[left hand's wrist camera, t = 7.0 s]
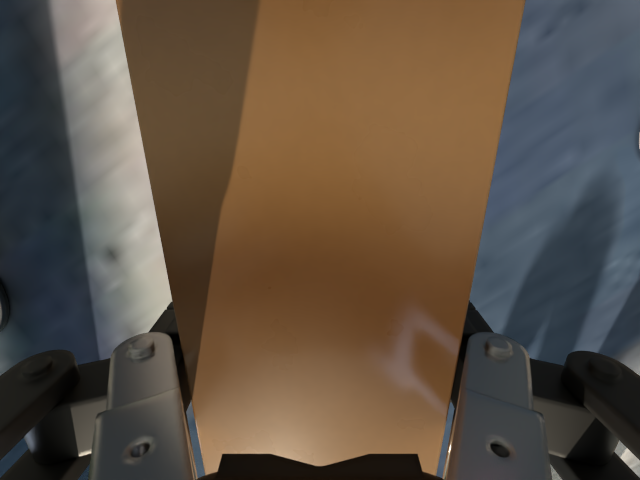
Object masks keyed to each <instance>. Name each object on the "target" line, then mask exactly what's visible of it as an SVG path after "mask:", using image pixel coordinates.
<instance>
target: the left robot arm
mask: <svg viewBox="0 0 640 480" xmlns="http://www.w3.org/2000/svg"><path fill="white" fill-rule="evenodd" d="M8 318H9V302H8V298H7V295H6V292H5V290H4V288H3V286H2V285H1V283H0V332H1V331H2V330H3V328H4V327H5V325H6V324H7V321H8ZM190 402H192V401H191V396H190V391H189V385H188V380H187V375H186V369H185V364H184V359H183V353H182V348H181V343H180V338H179V332H178V327H177V322H176V316H175V311H174V306H173V301H172V302H171V303H170V304H169V306H168V307H167V310H165V311H164V312H163V314H162V315H161V316H160V318H159V319H158V320H157V322H156V323H155V324H154V326H153V327H152V328H151V330H150V331H149V332H148V333H143V334H139V335H136V336H134V337H131V338H129V339H127V340H126V341H124V342H122V343H121V344H120V345H118V346H117V347H116V348H115V350H114V351H113V353H112V354H111V358H109V359H105V360H100V361H95V362H91V363H86V364H81V365H77V363H76V360H75V357H74V355H73V353H71V352H70V351H67V350H52V351H46V352H43V353H39V354H36V355H34V356H31V357H29V358H27V359H25V360H23V361H21V362H19V363H18V364H16V365H15V366H13V367H12V368H10V369H9V370H8V371H6V372H5V373H4V374H2V375H1V376H0V460H1V459H2V458H3V457H4V456H5V455H6V454H7V453H8V452H9V451H10V450H11V449H12V448H13V447H14V446H15V445H16V444H17V443H18V442H19V441H20V440H21V439H22V438H23V437H24V439H25V441H26V443H27V445H28V448H29V449H28V450H27V451H26V452H25V453H24V454H23V455H22V456H21V457H20V458H19V459H18V460H17V462H16V463H15V464H14V465H13V466H12V467H11V468H10V469H9V470H8V471H7V472H6V473H5V474H4V475H3V476H2V477H1V478H0V480H78V478H79V477H80V476H81V474H82V473H83V472H84V470H85V469H86V468H87V466H88V465H89V464H90V467H89V476H88V480H552V475H551V467H550V464H551V465H552V466H553V468H554V469H555V470H556V472H557V473H558V474H559V476H560V477H561V478H562V480H640V478H639V477H638V476H637V475H636V474H635V473H634V472H633V471H632V470H631V469H630V468H629V467H628V466H627V465H626V464H625V463H624V461H623V460H622V459H621V458H620V457H619V456H618V455H617V454H616V453H615V452H614V450H615V448H616V446H617V444H618V442H619V440H620V441H621V442H622V443H623V444H624V445H625V446H626V447H627V448H628V449H629V450H630V451H631V452H632V453H633V454H634V455H635V456H636V457H637V458H638V459H639V460H640V376H639V375H638V374H636V373H635V372H634V371H632V370H631V369H630V368H628V367H627V366H625V365H624V364H622V363H620V362H619V361H617V360H615V359H612V358H610V357H608V356H605V355H602V354H599V353H595V352H590V351H575V352H572V353H570V354H569V355H568V356H567V359H566V362H565V365H564V366H563V365H558V364H553V363H549V362H544V361H539V360H535V359H531V358H529V354H528V353H527V351H526V350H525V348H524V347H523V346H522V345H520V344H519V343H518V342H516V341H514V340H513V339H511V338H509V337H506V336H504V335H501V334H497V333H494V332H493V331H492V329H491V328H490V327H489V325H488V324H487V323H486V322H485V320H484V319H483V318H482V316H481V315H480V314H479V312H478V311H477V310H475V307H474V306H473V304H472V303H471V302H470V300H469V303H468V308H467V314H466V319H465V324H464V329H463V335H462V340H461V345H460V351H459V356H458V361H457V367H456V372H455V377H454V383H453V388H452V393H451V399H450V402H452V403H453V406H454V408H455V410H454V415H453V420H452V426H451V431H450V437H449V443H448V449H447V455H446V460H445V466H444V472H443V478H440V477H438V476H435V475H432V474H430V473H426V472H423V471H422V468H421V464H420V461H419V457H418V454H367V455H363V456H359V457H355V458H352V459H348V460H344V461H340V462H337V463H333V464H329V465H325V466H315V465H311V464H307V463H303V462H300V461H296V460H292V459H288V458H285V457H281V456H277V455H273V454H222V457H221V461H220V464H219V468H218V471H217V472H214V473H210V474H208V475H205V476H202V477H200V478H197V472H196V466H195V460H194V455H193V449H192V443H191V437H190V431H189V426H188V420H187V415H186V411H187V408H188V406H189V404H190Z"/></svg>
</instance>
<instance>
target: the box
mask: <svg viewBox="0 0 640 480" xmlns="http://www.w3.org/2000/svg"><path fill="white" fill-rule="evenodd" d="M116 4H117V9H118V15H119V20H120V25H121V31H122V36H123V41H124V47H125V52H126V57H127V62H128V68H129V73H130V78H131V84H132V89H133V94H134V99H135V105H136V110H137V115H138V121H139V126H140V131H141V137H142V142H143V147H144V152H145V158H146V163H147V168H148V174H149V179H150V184H151V189H152V195H153V200H154V205H155V211H156V216H157V221H158V226H159V232H160V237H161V242H162V248H163V253H164V258H165V264H166V269H167V274H168V279H169V285H170V290H171V295H172V301H173V306H174V311H175V316H176V322H177V327H178V332H179V338H180V343H181V348H182V353H183V359H184V364H185V369H186V375H187V380H188V385H189V391H190V396H191V401H192V406H193V412H194V417H195V422H196V428H197V433H198V438H199V443H200V449H201V454H202V459H203V465H204V470H205V475H208V474H210V473H214V472H217V471H218V468H219V464H220V461H221V457H222V454H273V455H277V456H281V457H285V458H288V459H292V460H296V461H300V462H303V463H307V464H311V465H315V466H325V465H329V464H333V463H337V462H340V461H344V460H348V459H352V458H355V457H359V456H363V455H367V454H418V457H419V461H420V464H421V468H422V471H423V472H426V473H430V474H432V475H435V476H436V473H437V468H438V462H439V457H440V452H441V446H442V441H443V436H444V430H445V425H446V420H447V414H448V409H449V404H450V399H451V393H452V388H453V383H454V377H455V372H456V367H457V361H458V356H459V351H460V345H461V340H462V335H463V329H464V324H465V319H466V314H467V308H468V303H469V298H470V292H471V287H472V282H473V276H474V271H475V266H476V260H477V255H478V250H479V244H480V239H481V234H482V229H483V223H484V218H485V213H486V207H487V202H488V197H489V191H490V186H491V181H492V175H493V170H494V165H495V159H496V154H497V149H498V143H499V138H500V133H501V128H502V122H503V117H504V112H505V106H506V101H507V96H508V90H509V85H510V80H511V74H512V69H513V64H514V58H515V53H516V48H517V43H518V37H519V32H520V27H521V21H522V16H523V11H524V5H525V0H116Z"/></svg>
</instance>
